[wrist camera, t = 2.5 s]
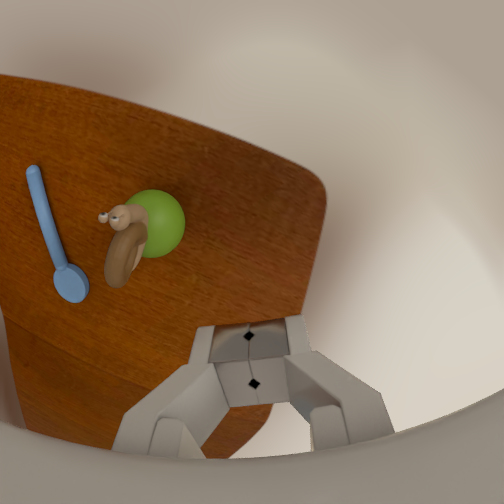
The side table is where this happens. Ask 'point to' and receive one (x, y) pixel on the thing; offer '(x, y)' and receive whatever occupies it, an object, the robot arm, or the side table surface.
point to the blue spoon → (56, 243)
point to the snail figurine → (141, 232)
